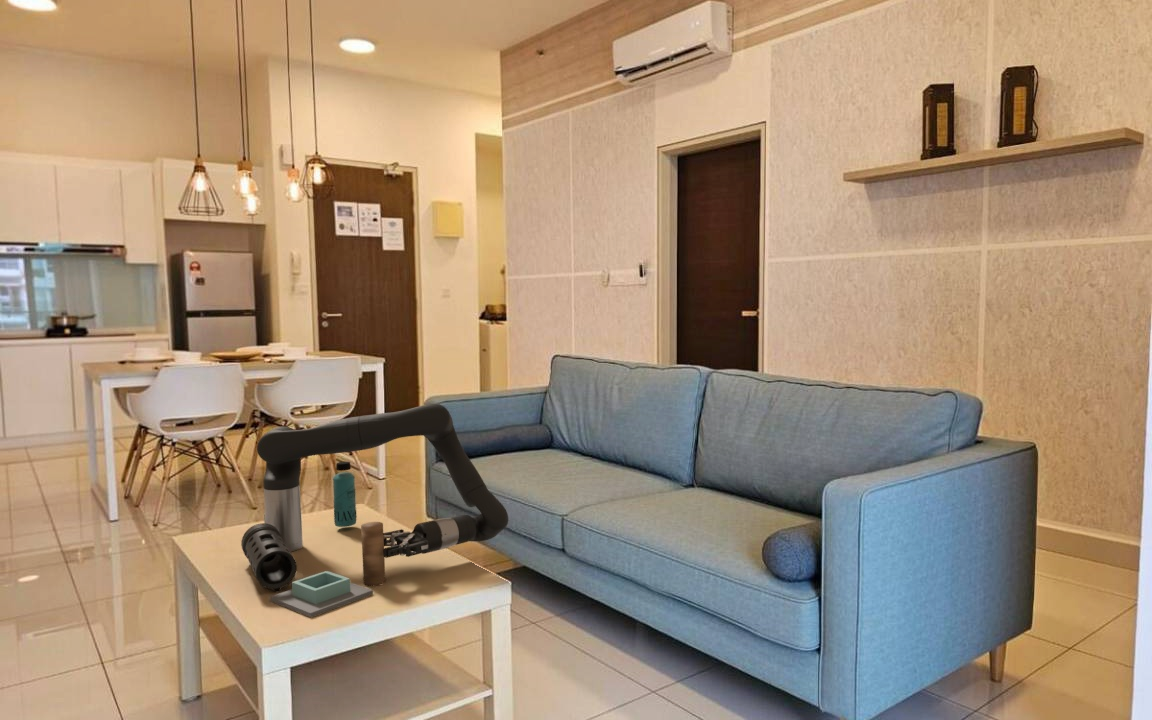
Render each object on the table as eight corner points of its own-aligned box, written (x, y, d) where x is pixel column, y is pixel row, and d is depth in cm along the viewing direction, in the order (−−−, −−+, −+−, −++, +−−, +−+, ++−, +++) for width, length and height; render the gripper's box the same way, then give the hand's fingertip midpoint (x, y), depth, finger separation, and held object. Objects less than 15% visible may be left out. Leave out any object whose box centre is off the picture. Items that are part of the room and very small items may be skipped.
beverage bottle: (330, 531, 227) (327, 464, 225) (340, 525, 233) (337, 459, 232) (351, 532, 226) (348, 464, 224) (361, 525, 232) (358, 459, 231)
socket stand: (269, 601, 174) (269, 583, 174) (331, 580, 187) (330, 563, 186) (310, 617, 164) (309, 599, 164) (372, 594, 177) (372, 577, 176)
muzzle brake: (255, 598, 177) (253, 553, 176) (241, 563, 201) (239, 524, 200) (299, 589, 181) (297, 546, 180) (280, 556, 206) (278, 518, 205)
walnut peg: (359, 583, 184) (356, 525, 183) (376, 577, 188) (374, 520, 187) (372, 587, 181) (369, 529, 180) (389, 581, 185) (387, 523, 184)
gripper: (421, 514, 200) (362, 527, 189) (450, 526, 189) (388, 540, 178) (422, 543, 200) (363, 557, 190) (451, 556, 189) (390, 572, 179)
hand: (376, 549), depth 184 cm, fingers open, 8 cm apart
